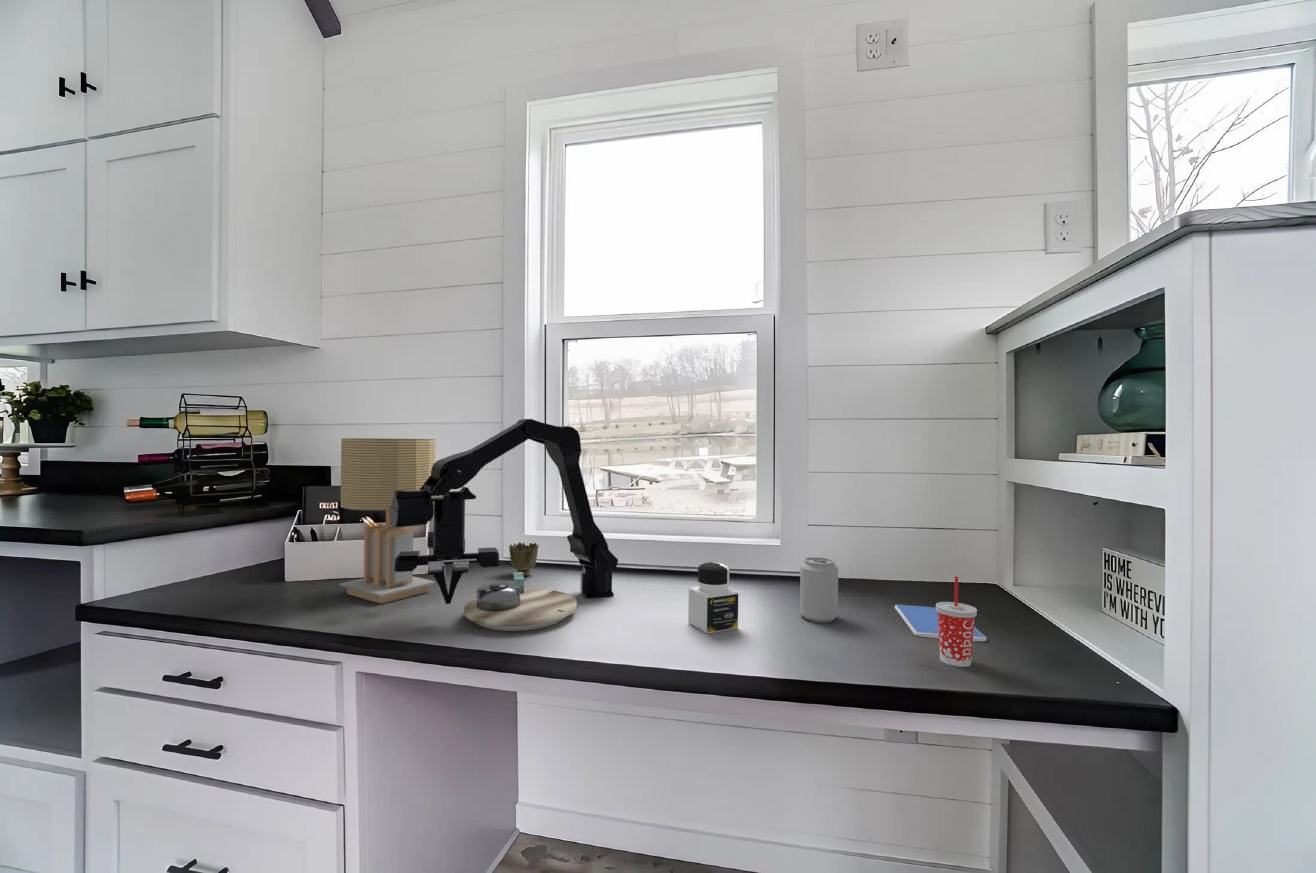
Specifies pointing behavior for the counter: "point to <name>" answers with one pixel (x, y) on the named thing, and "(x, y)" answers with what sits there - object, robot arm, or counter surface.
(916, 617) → the tablet computer
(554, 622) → the turntable base
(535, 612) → the turntable
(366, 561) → the desk lamp
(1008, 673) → the counter surface
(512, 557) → the cup
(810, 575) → the can
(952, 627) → the beverage cup
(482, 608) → the iron cover
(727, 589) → the medicine bottle
